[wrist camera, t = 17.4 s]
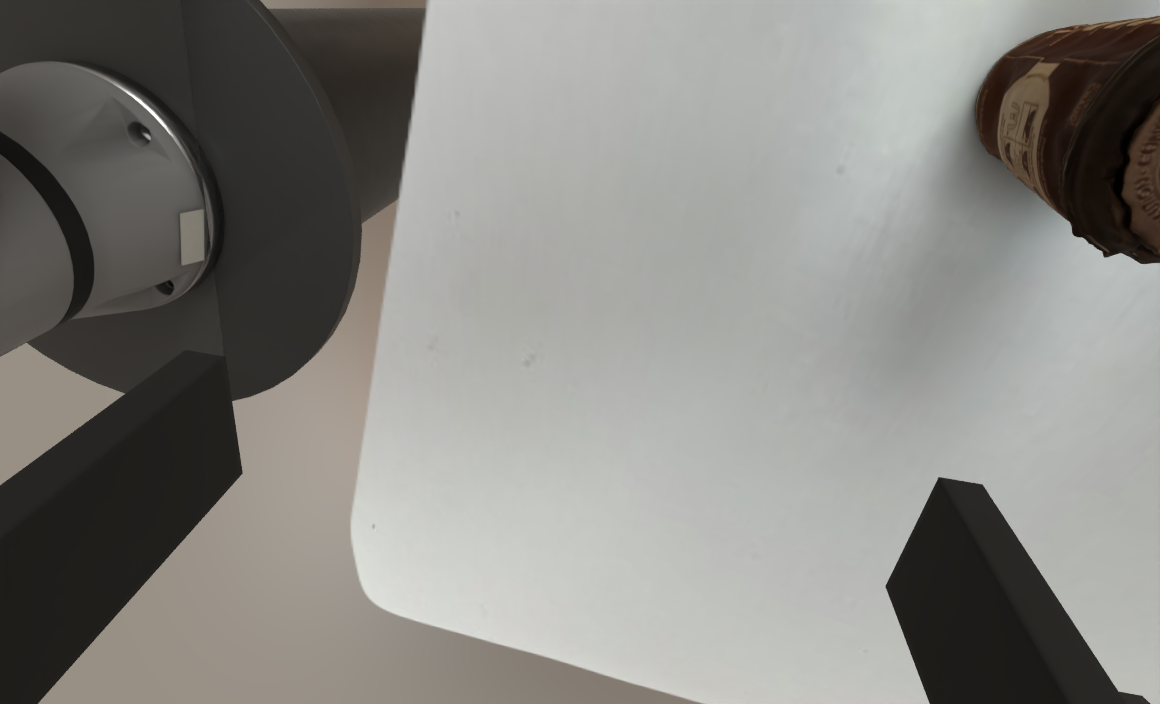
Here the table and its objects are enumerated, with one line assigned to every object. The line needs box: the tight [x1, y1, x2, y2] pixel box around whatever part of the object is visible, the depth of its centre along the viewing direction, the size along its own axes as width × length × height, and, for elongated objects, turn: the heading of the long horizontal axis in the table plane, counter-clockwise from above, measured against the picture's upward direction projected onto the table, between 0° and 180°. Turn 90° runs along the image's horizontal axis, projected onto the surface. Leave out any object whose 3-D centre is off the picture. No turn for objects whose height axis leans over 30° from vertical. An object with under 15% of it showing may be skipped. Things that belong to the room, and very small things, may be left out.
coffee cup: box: [976, 16, 1160, 264], centre depth 25 cm, size 9×8×13 cm
